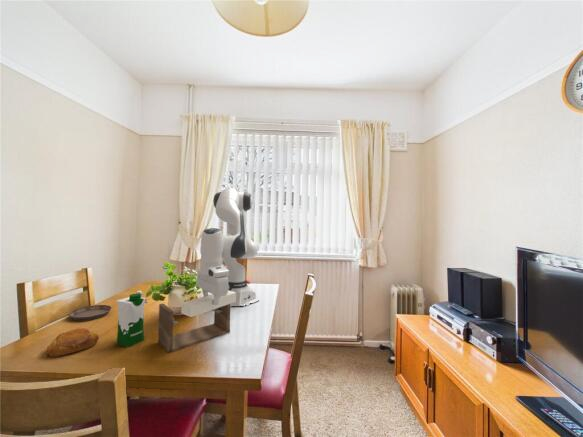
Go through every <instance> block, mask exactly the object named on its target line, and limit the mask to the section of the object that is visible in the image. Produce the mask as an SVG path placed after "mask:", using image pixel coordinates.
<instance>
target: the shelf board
mask: <svg viewBox="0 0 583 437" xmlns="http://www.w3.org/2000/svg"><path fill="white" fill-rule="evenodd" d="M213 300H214V294H212V293H210V294H208V296H200V297H198V298H194V299H190V300H187V301H184V302H181V310H180V313H181V314H182V315H185V316H187V317H190V318H192V317H196V316H199V315H201V314H204V313H207V312H210V311H213V309H216V308H219V307H222V306H225V305H228V304H231V303H234V302H236V292H233V291H229V290H228V293H227V295H226V296H222V297H220V298H219V301H218V305H213Z"/></svg>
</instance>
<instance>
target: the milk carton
mask: <svg viewBox="0 0 583 437" xmlns="http://www.w3.org/2000/svg"><path fill="white" fill-rule="evenodd" d="M146 299H147V298H146V297H144V296H143V297H142V296H141V294H136V293H133V294H132V293H131V294H129V296H128V297H125V298H120V299H117V300H116V306H117V312H118V313H117V314H118V315H117V317H118V318H117V336H116V344H117V345H120V346H124V347H127V348H129V347H131V346H134V345H135V344H138V343H140V342H142V341H144V340H145V339H144V338H145V337H144V334H145V333H144V331H145V330H144V322H145V321H144V319H145V318H144V317H145V314H144V313H145V305H146V303H145V301H146Z"/></svg>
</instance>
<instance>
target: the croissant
mask: <svg viewBox="0 0 583 437" xmlns="http://www.w3.org/2000/svg"><path fill="white" fill-rule="evenodd" d="M99 338H100V336H99V333H98V332H96V331H94V330H90V329H88V328H82V327H80V328H79V327H78V328H76V329H71V330H68V331H65V332H62V333H59V334H58V336H56V337H55V338H54V339H53V340H52V342H50V344H48V346H47V347H46V348H47V349H46V353H47V354H49V356H50V357H60V356H64V355H68V354H72V353H76V352H79V351H83V350H86V349H88V348H91V347H92V346H94V345H96V344H97V343H98V341H99Z"/></svg>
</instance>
